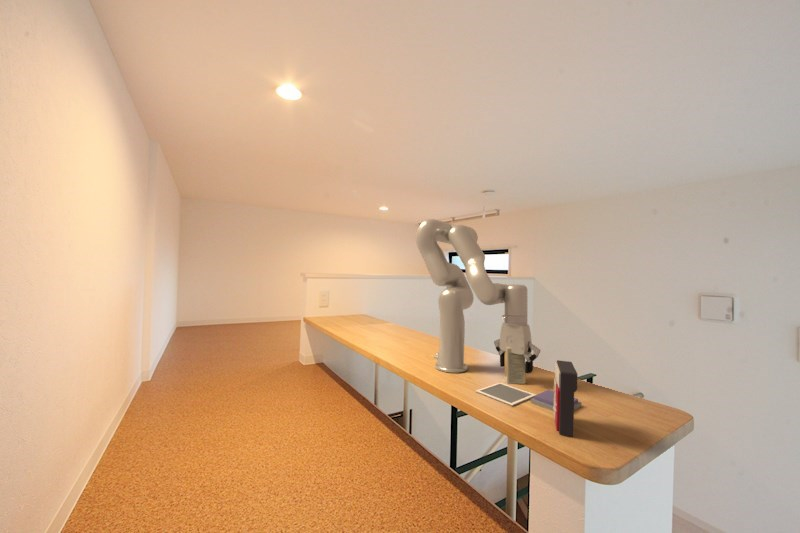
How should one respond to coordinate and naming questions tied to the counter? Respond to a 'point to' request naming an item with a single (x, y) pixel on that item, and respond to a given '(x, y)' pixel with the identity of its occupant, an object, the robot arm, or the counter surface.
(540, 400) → the ink pad
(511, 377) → the skincare box
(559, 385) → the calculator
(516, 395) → the white picture frame
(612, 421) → the counter surface
